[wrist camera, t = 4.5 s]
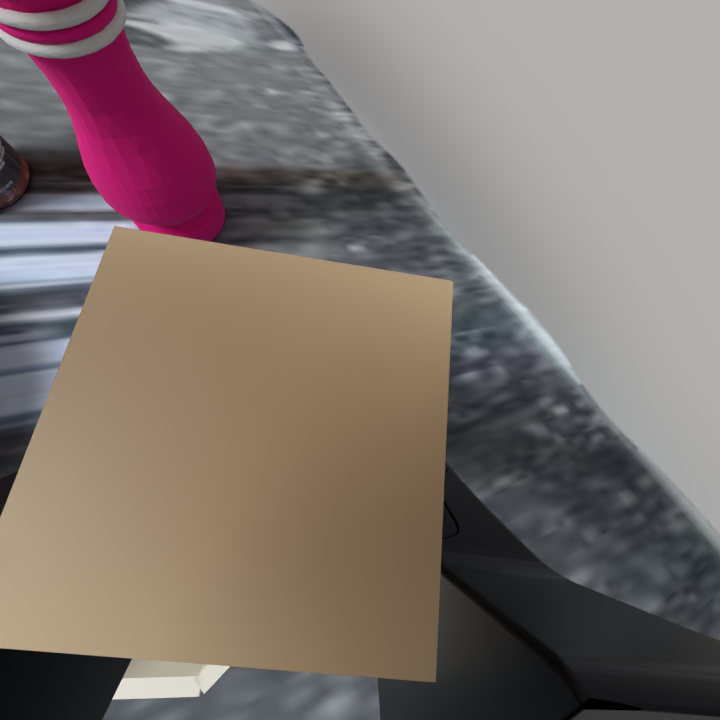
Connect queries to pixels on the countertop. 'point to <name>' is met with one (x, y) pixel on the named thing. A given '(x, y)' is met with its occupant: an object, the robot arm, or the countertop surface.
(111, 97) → the pepper mill
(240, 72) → the countertop surface
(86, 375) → the tall wooden post
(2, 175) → the supplement bottle
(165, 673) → the bowl
